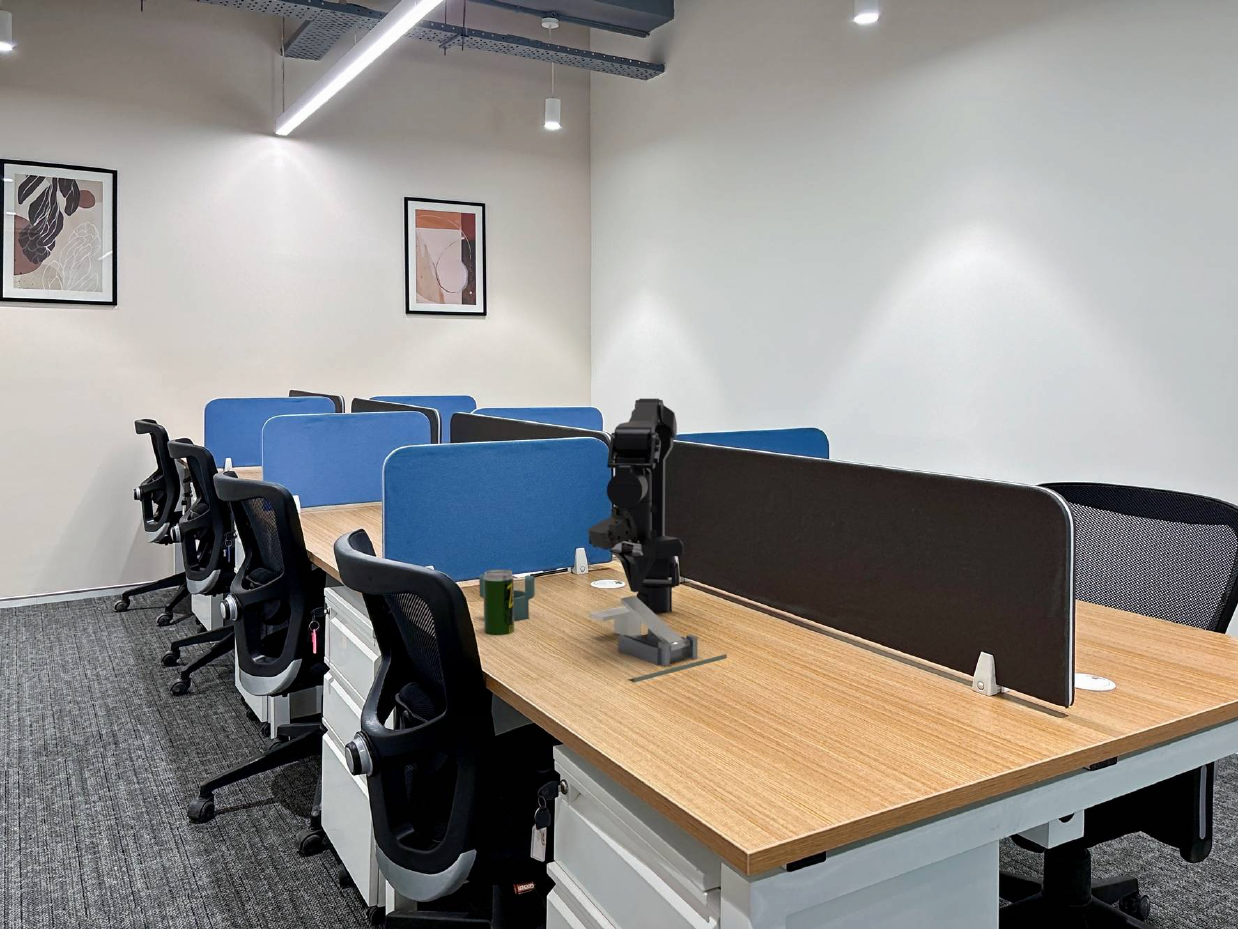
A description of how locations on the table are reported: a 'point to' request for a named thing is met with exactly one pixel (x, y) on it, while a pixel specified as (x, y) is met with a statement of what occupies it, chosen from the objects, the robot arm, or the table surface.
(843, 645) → the table surface
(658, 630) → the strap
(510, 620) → the beer can
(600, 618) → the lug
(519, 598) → the bracket
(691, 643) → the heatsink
